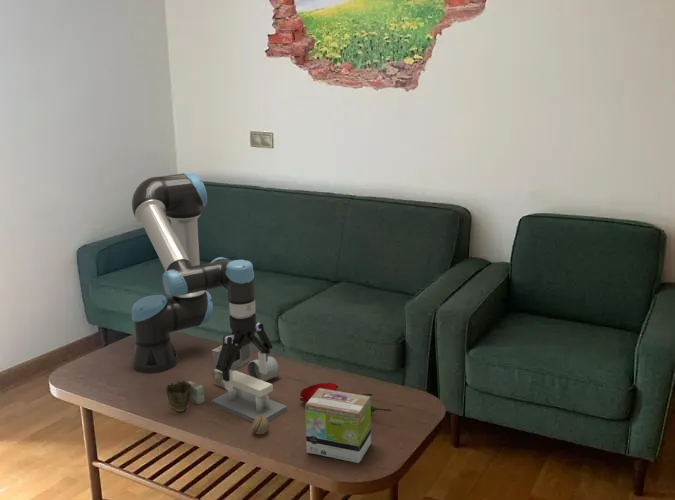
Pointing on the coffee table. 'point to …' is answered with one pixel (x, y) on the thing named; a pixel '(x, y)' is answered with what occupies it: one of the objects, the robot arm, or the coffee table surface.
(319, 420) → the tea box
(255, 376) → the ceramic mug
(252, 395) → the peg stand
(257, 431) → the walnut
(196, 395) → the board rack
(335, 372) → the coffee table surface
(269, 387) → the shelf board
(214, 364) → the cassette player
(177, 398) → the cup
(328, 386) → the flower
